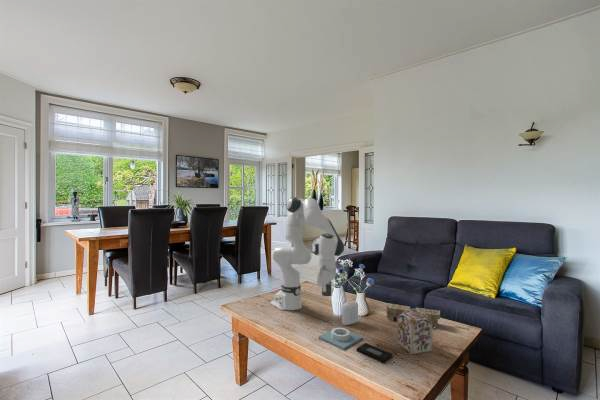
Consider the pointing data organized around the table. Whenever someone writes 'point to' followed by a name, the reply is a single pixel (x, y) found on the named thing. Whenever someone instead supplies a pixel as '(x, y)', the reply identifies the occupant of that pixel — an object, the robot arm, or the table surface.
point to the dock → (340, 343)
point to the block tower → (396, 310)
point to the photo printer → (350, 313)
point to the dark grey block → (328, 292)
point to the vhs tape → (374, 353)
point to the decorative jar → (414, 331)
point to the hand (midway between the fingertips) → (326, 290)
